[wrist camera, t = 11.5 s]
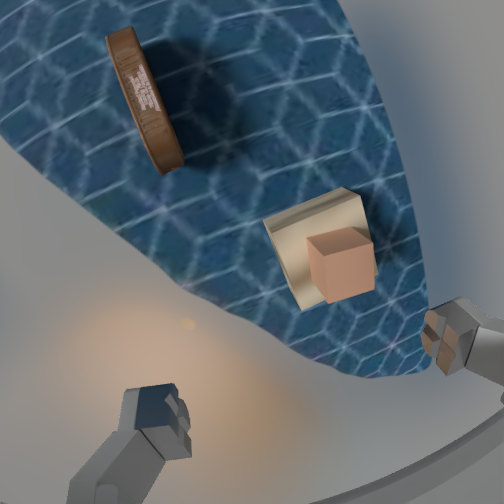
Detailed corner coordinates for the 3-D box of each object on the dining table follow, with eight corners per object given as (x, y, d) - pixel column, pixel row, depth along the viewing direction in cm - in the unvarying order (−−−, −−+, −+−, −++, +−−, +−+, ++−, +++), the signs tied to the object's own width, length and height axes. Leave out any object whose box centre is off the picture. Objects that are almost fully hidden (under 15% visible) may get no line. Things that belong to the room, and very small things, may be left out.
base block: (262, 219, 36) (271, 233, 31) (340, 186, 35) (360, 195, 31) (290, 289, 40) (301, 310, 35) (359, 257, 40) (378, 274, 35)
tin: (116, 48, 26) (91, 26, 18) (143, 36, 26) (127, 9, 18) (164, 171, 32) (152, 184, 24) (191, 159, 32) (188, 169, 24)
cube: (305, 237, 32) (323, 256, 27) (350, 226, 32) (373, 242, 27) (311, 280, 34) (328, 303, 29) (353, 268, 34) (374, 289, 29)
